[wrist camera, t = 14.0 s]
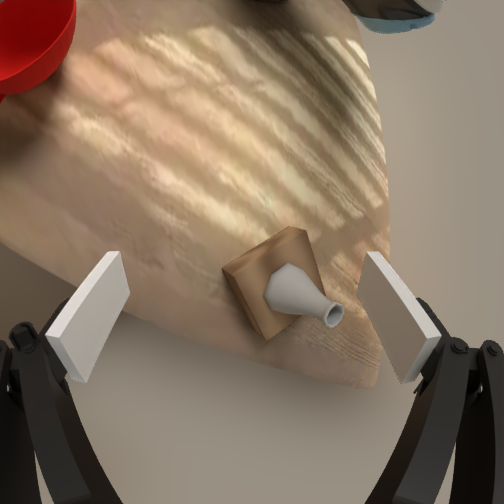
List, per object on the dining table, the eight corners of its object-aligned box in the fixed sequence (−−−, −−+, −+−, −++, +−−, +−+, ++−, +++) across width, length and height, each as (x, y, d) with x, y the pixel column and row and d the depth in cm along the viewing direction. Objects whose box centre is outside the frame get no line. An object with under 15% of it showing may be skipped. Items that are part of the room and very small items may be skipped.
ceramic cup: (-36, 125, 15) (-72, 110, 7) (32, 17, 15) (21, -23, 7) (29, 152, 22) (-2, 139, 13) (99, 36, 22) (102, -8, 13)
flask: (286, 253, 37) (339, 273, 29) (313, 281, 41) (363, 304, 32) (253, 295, 36) (299, 328, 28) (284, 320, 40) (330, 352, 31)
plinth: (289, 226, 41) (305, 230, 38) (310, 288, 46) (325, 296, 43) (221, 267, 37) (234, 276, 34) (253, 329, 42) (266, 341, 39)
